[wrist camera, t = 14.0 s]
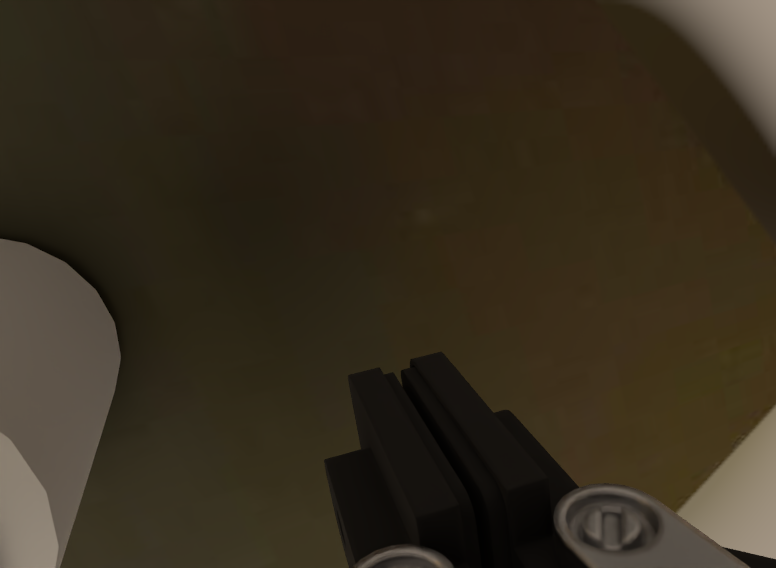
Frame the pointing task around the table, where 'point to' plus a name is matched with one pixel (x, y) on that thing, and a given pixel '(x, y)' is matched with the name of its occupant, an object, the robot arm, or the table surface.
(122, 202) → the table surface
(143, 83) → the table surface
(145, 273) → the table surface
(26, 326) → the can
